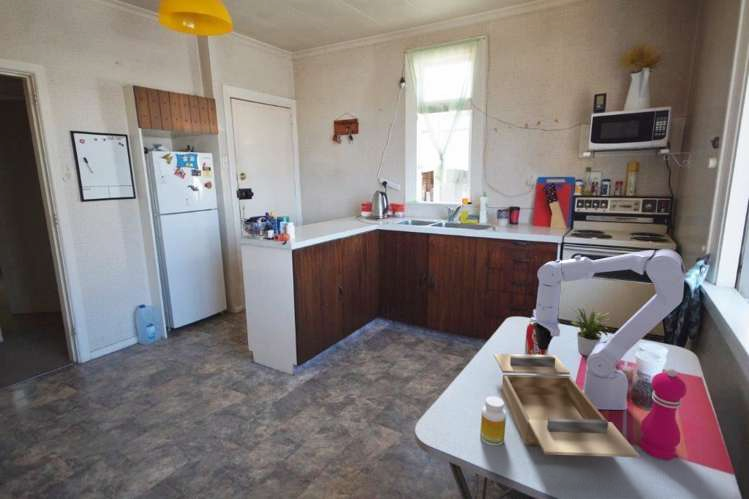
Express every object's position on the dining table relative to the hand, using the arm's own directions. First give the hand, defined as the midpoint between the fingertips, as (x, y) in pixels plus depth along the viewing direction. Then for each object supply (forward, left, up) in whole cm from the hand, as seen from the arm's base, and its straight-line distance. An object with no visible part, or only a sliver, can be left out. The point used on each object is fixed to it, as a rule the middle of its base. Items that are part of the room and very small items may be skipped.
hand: (542, 348), depth 112 cm
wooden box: (+4, +17, -10) cm, 20 cm away
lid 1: (+4, +2, -4) cm, 6 cm away
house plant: (-21, -19, -11) cm, 30 cm away
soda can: (-4, -15, -11) cm, 19 cm away
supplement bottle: (+20, +25, -11) cm, 34 cm away
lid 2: (+4, +32, -4) cm, 33 cm away
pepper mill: (-16, +27, -11) cm, 33 cm away
